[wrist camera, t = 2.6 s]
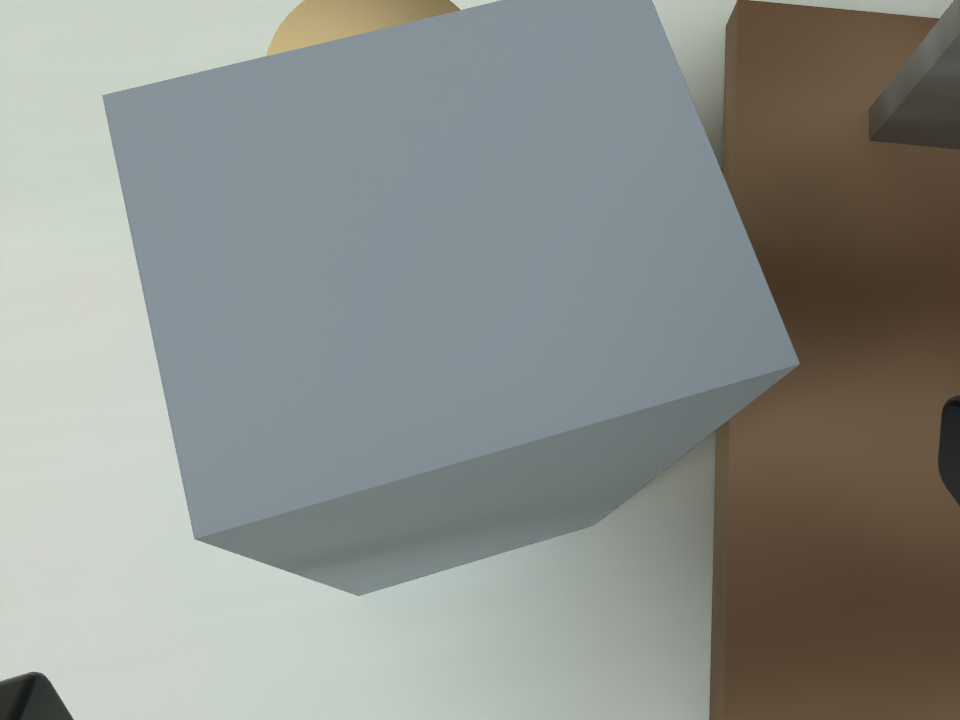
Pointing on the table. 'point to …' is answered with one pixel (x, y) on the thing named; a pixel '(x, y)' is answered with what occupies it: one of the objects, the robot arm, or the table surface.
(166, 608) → the table surface
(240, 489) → the loose hinge leaf
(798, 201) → the hinge jig
